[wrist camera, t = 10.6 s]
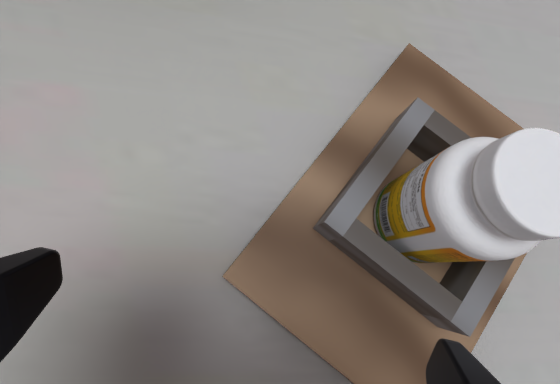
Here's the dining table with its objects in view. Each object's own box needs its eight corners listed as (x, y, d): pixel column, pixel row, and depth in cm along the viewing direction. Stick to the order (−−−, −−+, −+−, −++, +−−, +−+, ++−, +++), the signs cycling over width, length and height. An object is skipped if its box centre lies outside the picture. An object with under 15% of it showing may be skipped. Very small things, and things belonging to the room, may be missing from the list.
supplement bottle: (471, 223, 22) (647, 188, 12) (415, 282, 21) (562, 294, 11) (411, 160, 22) (536, 80, 13) (353, 214, 21) (443, 171, 12)
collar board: (411, 429, 20) (455, 471, 16) (223, 275, 21) (218, 277, 17) (559, 171, 25) (622, 152, 20) (401, 53, 25) (432, 12, 21)
